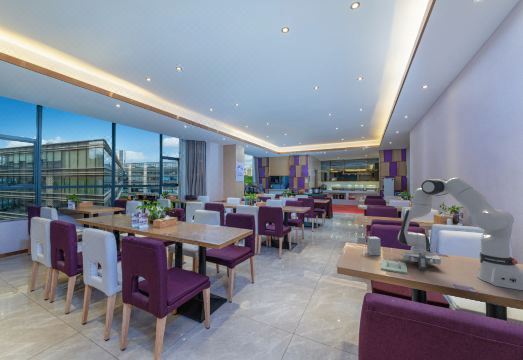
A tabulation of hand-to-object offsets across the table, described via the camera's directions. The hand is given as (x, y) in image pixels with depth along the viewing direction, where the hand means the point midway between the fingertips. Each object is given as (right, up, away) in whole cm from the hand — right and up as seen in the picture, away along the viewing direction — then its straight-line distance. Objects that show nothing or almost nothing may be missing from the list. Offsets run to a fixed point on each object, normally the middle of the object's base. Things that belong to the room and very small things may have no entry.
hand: (422, 261), depth 138 cm
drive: (0, -5, +1) cm, 5 cm away
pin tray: (-15, -5, +5) cm, 17 cm away
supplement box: (-14, -6, +31) cm, 35 cm away
